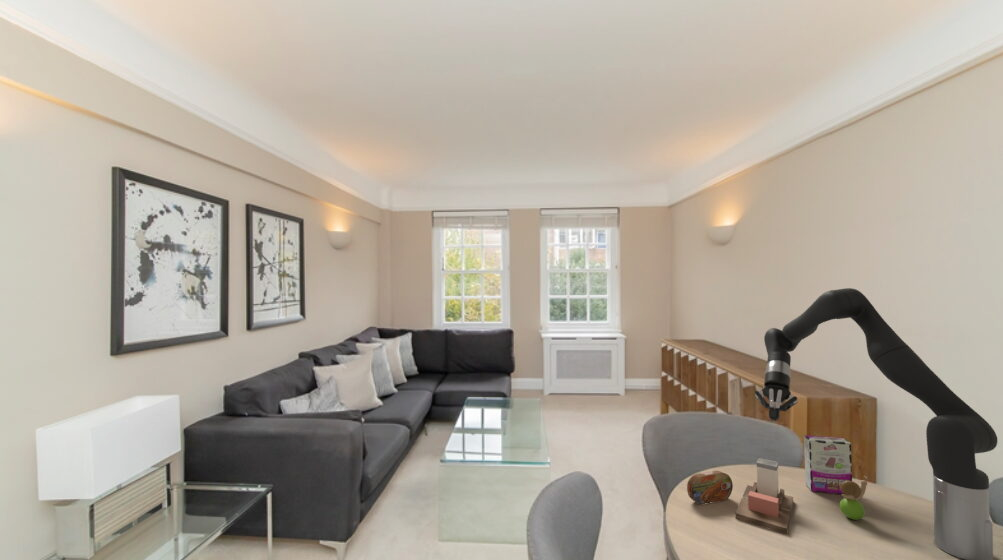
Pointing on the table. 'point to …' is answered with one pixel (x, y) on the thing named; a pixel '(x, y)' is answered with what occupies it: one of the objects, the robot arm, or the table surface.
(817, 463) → the candy bar box
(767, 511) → the pad
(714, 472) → the tin
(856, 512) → the snail figurine
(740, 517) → the wooden holder base
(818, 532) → the table surface
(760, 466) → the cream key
